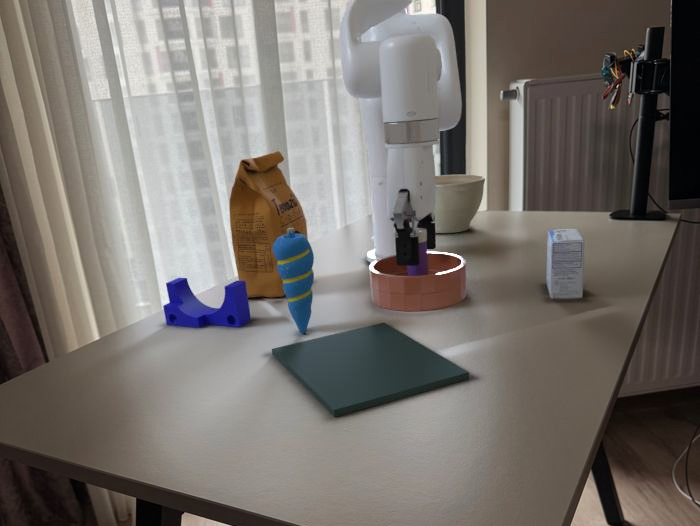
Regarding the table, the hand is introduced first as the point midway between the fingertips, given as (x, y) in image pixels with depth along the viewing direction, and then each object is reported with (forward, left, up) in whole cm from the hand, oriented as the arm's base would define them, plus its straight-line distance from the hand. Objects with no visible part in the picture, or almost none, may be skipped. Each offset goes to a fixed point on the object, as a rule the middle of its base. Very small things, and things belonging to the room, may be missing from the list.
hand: (417, 256), depth 95 cm
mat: (+18, -18, -7) cm, 26 cm away
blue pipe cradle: (-10, -30, -7) cm, 32 cm away
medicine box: (+11, +18, -7) cm, 22 cm away
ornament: (+3, -20, -7) cm, 21 cm away
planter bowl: (-39, +30, -7) cm, 50 cm away
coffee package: (-19, -16, -7) cm, 26 cm away
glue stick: (0, 0, -6) cm, 6 cm away
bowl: (0, 0, -7) cm, 7 cm away
